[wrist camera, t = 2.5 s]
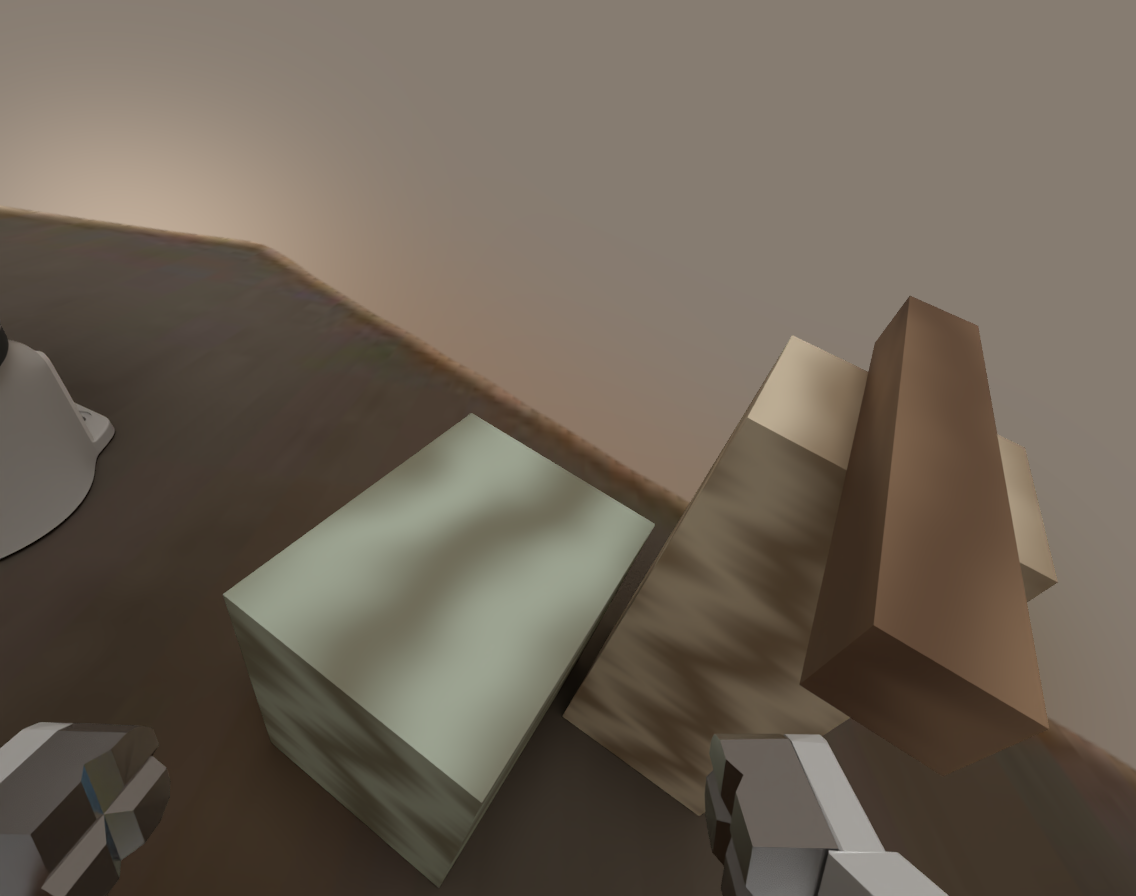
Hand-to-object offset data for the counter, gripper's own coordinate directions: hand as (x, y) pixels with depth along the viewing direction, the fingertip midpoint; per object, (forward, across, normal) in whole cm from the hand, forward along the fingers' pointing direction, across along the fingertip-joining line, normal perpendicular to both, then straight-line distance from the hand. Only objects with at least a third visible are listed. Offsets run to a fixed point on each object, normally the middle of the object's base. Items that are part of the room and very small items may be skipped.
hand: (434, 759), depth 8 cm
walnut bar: (+11, -13, 0) cm, 17 cm away
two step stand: (+20, 0, +21) cm, 29 cm away
